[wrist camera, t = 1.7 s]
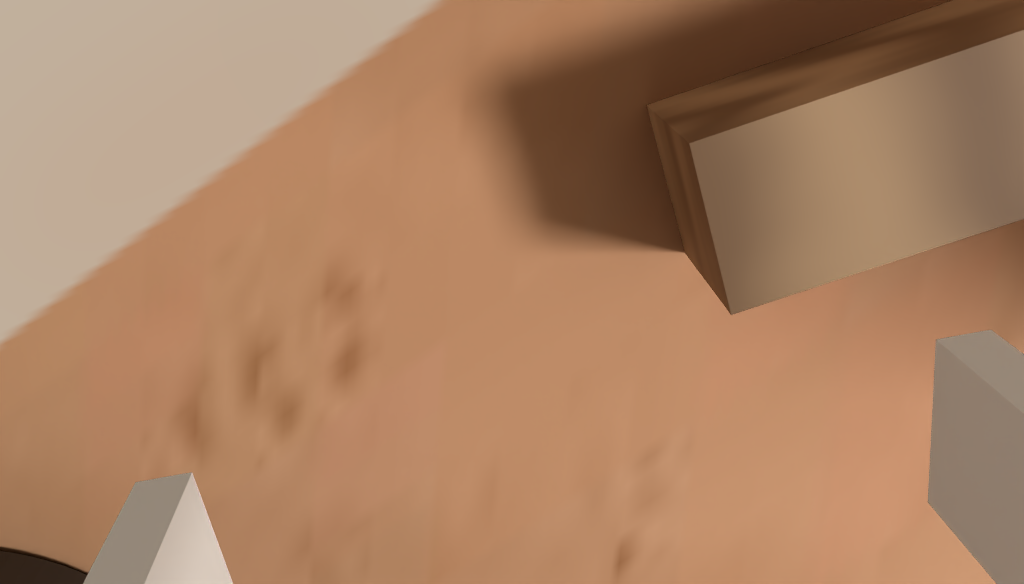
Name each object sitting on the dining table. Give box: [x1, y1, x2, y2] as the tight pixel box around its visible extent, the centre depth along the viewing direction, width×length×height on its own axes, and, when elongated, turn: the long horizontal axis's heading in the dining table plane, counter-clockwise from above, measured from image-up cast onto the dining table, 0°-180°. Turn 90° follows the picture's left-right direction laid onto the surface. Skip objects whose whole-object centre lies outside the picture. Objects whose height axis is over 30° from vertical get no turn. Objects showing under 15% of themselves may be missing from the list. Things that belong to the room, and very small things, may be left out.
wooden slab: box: [646, 0, 1024, 315], centre depth 25 cm, size 14×5×5 cm, turn 108°
